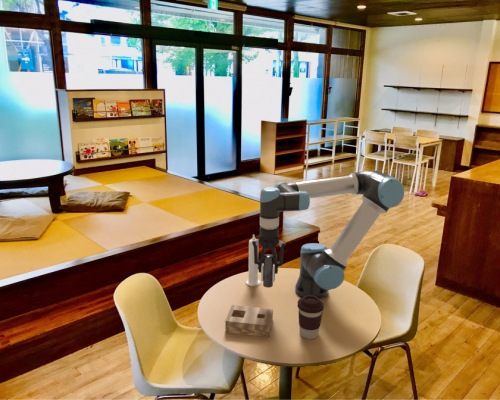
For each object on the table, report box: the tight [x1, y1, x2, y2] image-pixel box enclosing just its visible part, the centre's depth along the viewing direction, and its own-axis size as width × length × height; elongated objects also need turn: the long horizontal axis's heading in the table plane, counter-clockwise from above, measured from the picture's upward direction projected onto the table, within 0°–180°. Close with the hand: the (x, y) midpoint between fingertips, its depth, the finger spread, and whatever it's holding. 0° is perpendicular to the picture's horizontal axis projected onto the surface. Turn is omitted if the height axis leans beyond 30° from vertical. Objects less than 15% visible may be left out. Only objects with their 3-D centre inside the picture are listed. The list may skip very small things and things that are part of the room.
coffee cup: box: [297, 295, 325, 340], centre depth 161 cm, size 10×10×15 cm
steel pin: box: [262, 253, 274, 288], centre depth 172 cm, size 4×4×13 cm
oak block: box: [224, 304, 274, 338], centre depth 167 cm, size 17×12×5 cm
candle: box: [245, 234, 261, 287], centre depth 199 cm, size 7×7×25 cm
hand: (268, 279), depth 173 cm, fingers closed on steel pin, 4 cm apart
